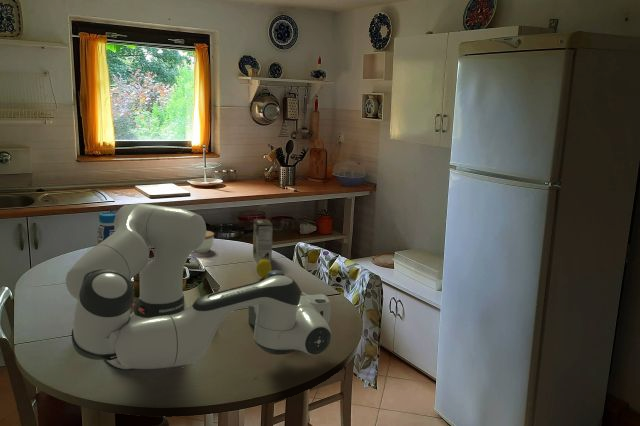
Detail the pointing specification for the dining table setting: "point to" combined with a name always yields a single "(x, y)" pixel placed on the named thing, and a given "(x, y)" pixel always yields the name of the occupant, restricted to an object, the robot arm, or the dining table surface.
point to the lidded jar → (206, 243)
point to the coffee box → (262, 239)
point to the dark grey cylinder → (275, 273)
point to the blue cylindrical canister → (106, 225)
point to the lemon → (263, 268)
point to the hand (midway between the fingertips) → (284, 296)
